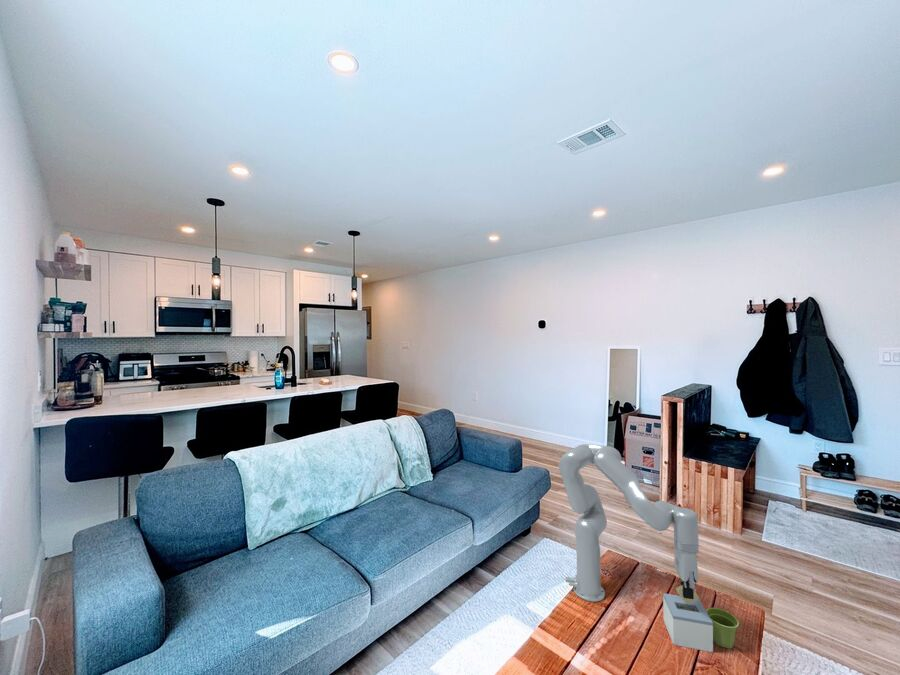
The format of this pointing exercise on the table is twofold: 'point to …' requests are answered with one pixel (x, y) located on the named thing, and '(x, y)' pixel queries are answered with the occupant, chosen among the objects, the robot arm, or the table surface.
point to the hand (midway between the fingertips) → (687, 595)
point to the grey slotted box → (687, 623)
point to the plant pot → (723, 627)
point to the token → (687, 601)
